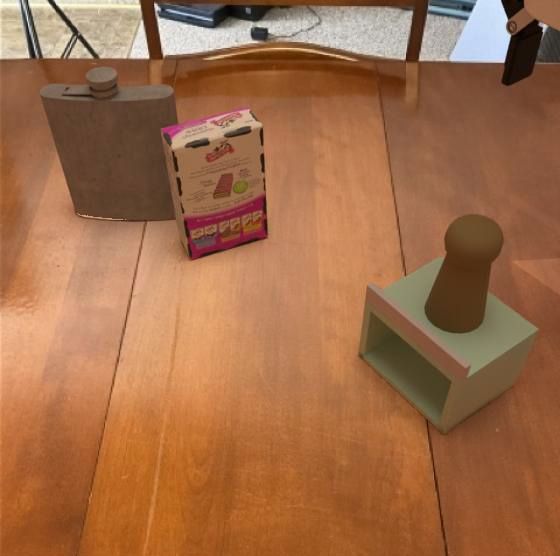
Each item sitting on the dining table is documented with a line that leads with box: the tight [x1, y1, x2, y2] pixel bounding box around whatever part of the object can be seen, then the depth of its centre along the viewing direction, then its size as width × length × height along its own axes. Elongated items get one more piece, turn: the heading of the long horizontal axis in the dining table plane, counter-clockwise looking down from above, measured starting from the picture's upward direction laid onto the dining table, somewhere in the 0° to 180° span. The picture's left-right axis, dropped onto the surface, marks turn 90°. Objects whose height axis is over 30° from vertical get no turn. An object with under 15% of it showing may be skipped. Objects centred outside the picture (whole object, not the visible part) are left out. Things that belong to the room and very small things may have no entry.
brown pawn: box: [424, 213, 505, 334], centre depth 65 cm, size 6×6×11 cm
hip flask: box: [39, 66, 179, 222], centre depth 86 cm, size 16×4×20 cm, turn 88°
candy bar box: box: [161, 106, 269, 260], centre depth 84 cm, size 11×5×16 cm, turn 114°
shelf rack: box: [357, 255, 540, 436], centre depth 71 cm, size 11×14×11 cm
